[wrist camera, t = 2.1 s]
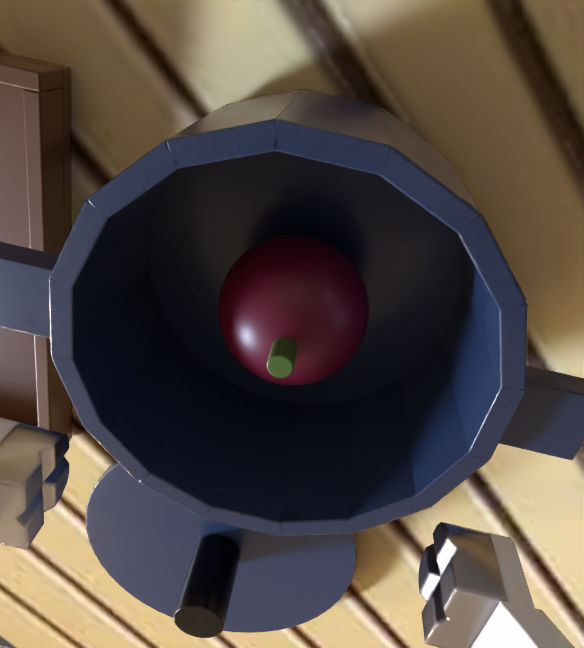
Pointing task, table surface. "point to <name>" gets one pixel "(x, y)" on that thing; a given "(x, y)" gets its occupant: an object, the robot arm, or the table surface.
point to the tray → (34, 223)
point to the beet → (293, 309)
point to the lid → (212, 562)
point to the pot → (276, 399)
